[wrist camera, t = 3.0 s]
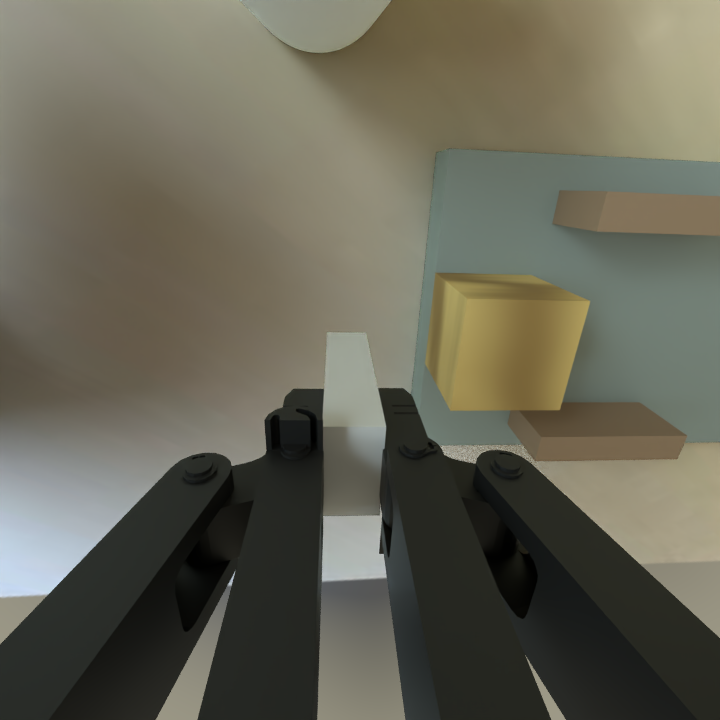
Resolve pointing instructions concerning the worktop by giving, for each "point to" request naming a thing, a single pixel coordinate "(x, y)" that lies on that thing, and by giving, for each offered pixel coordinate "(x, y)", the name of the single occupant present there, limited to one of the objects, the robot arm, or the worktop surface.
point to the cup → (317, 21)
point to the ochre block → (502, 341)
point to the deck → (590, 295)
